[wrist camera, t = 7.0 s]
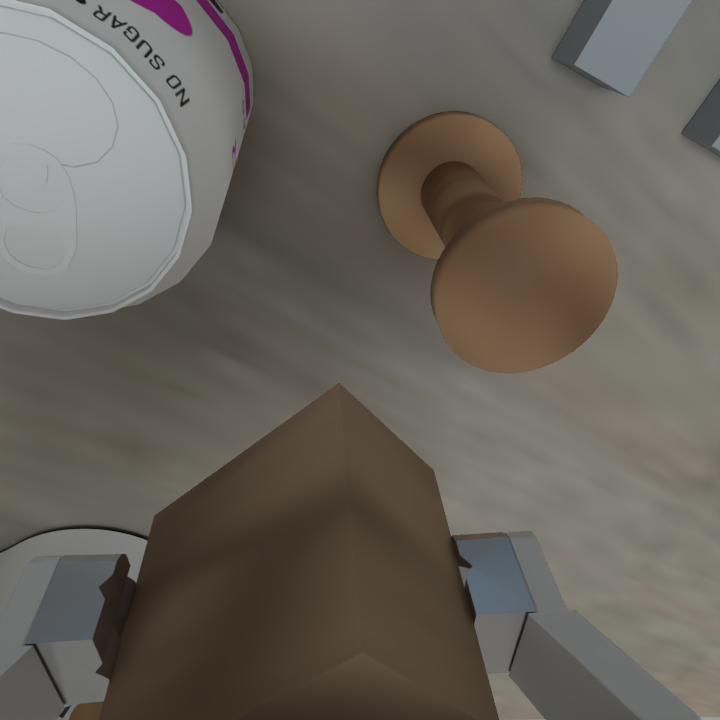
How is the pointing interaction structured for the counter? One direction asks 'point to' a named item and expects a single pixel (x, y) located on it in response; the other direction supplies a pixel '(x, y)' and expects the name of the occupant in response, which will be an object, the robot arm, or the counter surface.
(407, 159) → the bobbin
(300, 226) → the counter surface
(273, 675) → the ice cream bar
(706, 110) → the notch board
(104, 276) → the supplement can
